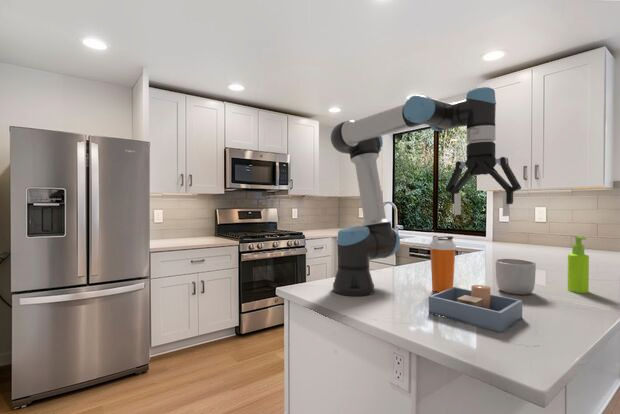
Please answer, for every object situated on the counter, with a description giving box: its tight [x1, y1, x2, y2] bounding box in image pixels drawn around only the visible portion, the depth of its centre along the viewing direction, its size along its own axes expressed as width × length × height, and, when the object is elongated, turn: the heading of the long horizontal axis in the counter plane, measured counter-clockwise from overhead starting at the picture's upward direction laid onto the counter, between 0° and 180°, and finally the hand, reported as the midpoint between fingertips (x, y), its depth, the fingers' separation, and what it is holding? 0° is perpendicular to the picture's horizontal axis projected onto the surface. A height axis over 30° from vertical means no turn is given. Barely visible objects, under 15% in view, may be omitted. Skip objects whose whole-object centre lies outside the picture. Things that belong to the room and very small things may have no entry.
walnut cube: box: [457, 295, 483, 308], centre depth 93 cm, size 5×5×5 cm
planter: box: [495, 258, 537, 295], centre depth 120 cm, size 12×12×11 cm
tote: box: [428, 286, 523, 334], centre depth 96 cm, size 20×16×5 cm
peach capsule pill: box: [470, 284, 491, 309], centre depth 98 cm, size 5×5×7 cm
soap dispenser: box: [567, 235, 590, 294], centre depth 119 cm, size 6×7×20 cm
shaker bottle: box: [429, 235, 457, 293], centre depth 122 cm, size 9×9×20 cm
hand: (480, 215), depth 98 cm, fingers open, 13 cm apart
